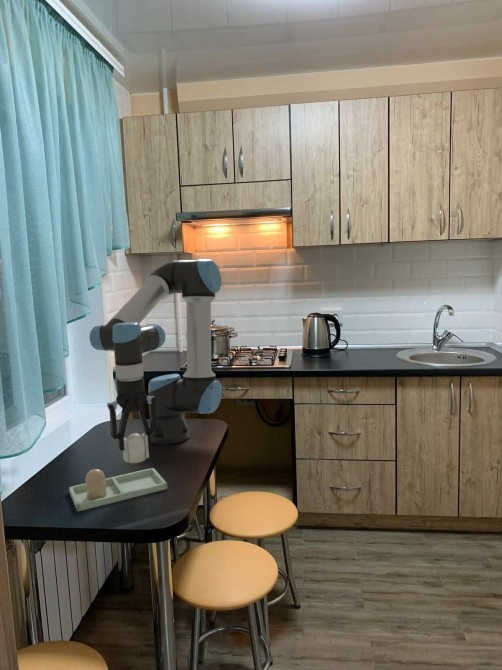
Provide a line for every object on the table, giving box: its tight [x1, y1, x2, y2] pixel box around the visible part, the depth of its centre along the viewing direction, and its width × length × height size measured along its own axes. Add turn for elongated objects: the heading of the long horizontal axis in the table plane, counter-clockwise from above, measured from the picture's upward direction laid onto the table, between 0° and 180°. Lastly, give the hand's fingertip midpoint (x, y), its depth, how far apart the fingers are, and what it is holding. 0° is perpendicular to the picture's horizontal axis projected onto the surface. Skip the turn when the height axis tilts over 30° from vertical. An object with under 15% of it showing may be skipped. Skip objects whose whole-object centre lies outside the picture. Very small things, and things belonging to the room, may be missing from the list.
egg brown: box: [84, 468, 107, 500], centre depth 142 cm, size 5×5×8 cm
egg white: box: [126, 432, 147, 464], centre depth 146 cm, size 5×5×8 cm
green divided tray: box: [68, 467, 168, 512], centre depth 145 cm, size 24×13×2 cm, turn 118°
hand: (136, 458), depth 146 cm, fingers closed on egg white, 5 cm apart
